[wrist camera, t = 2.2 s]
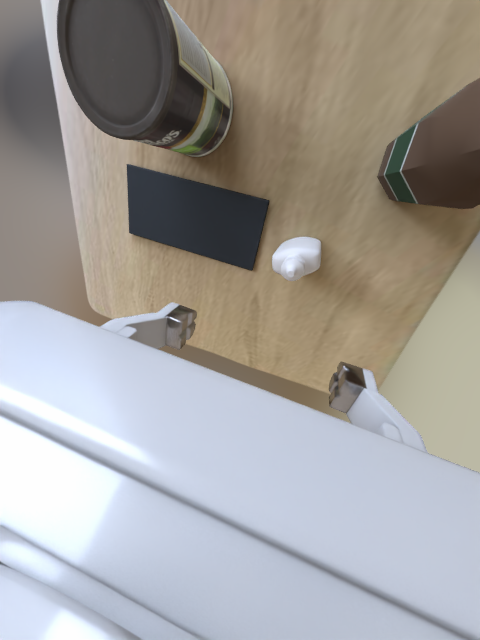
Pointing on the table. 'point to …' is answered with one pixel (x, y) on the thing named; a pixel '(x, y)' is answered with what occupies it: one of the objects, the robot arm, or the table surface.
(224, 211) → the mat
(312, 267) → the eye dropper bottle
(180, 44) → the coffee can
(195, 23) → the table surface
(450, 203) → the beer bottle
